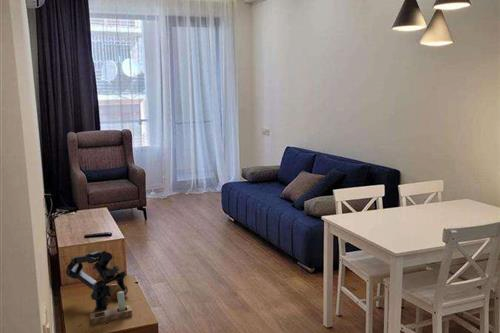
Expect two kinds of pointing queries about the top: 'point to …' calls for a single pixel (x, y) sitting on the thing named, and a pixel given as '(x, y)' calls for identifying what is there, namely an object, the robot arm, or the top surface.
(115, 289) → the tin
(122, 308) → the post
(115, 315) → the brown slotted board
